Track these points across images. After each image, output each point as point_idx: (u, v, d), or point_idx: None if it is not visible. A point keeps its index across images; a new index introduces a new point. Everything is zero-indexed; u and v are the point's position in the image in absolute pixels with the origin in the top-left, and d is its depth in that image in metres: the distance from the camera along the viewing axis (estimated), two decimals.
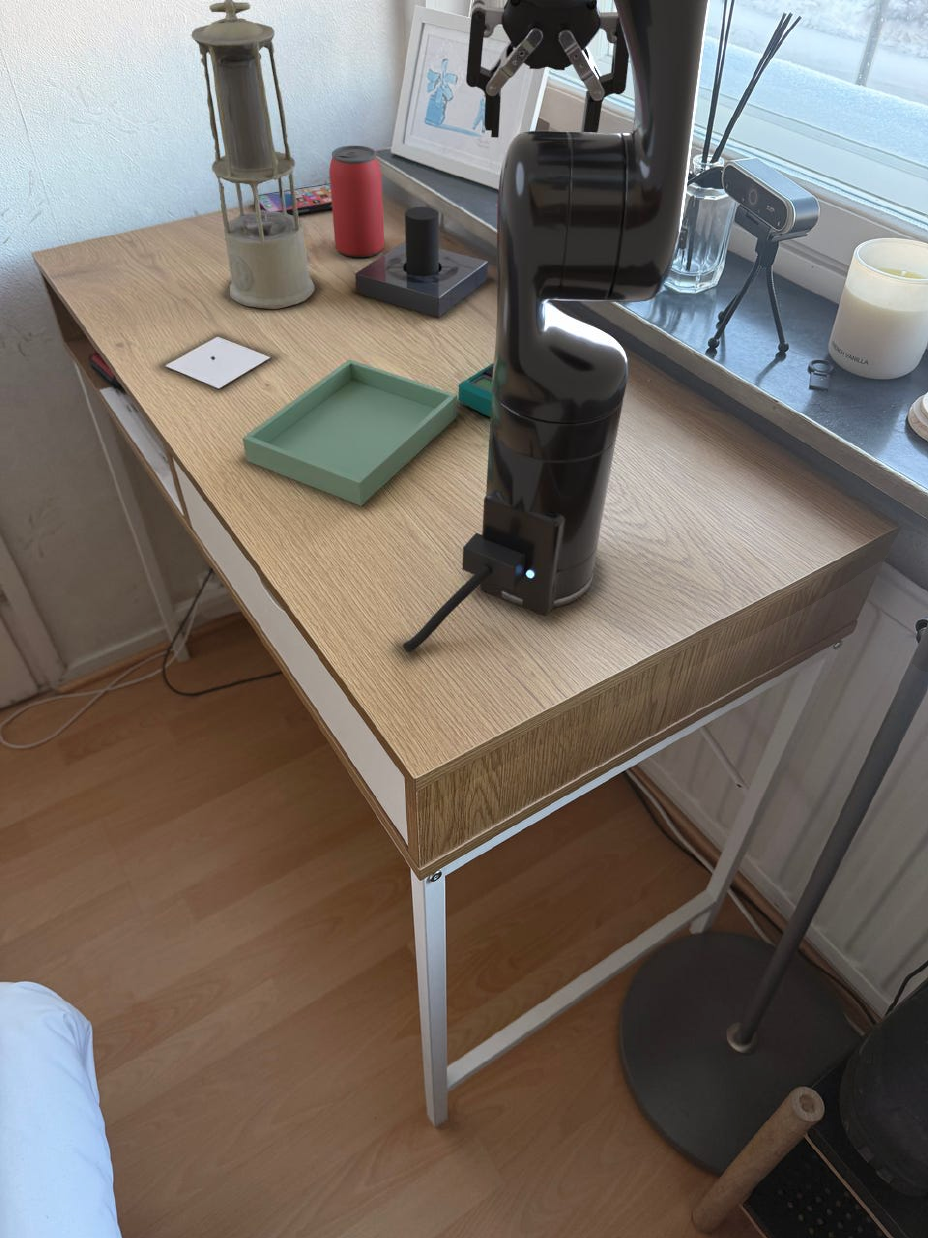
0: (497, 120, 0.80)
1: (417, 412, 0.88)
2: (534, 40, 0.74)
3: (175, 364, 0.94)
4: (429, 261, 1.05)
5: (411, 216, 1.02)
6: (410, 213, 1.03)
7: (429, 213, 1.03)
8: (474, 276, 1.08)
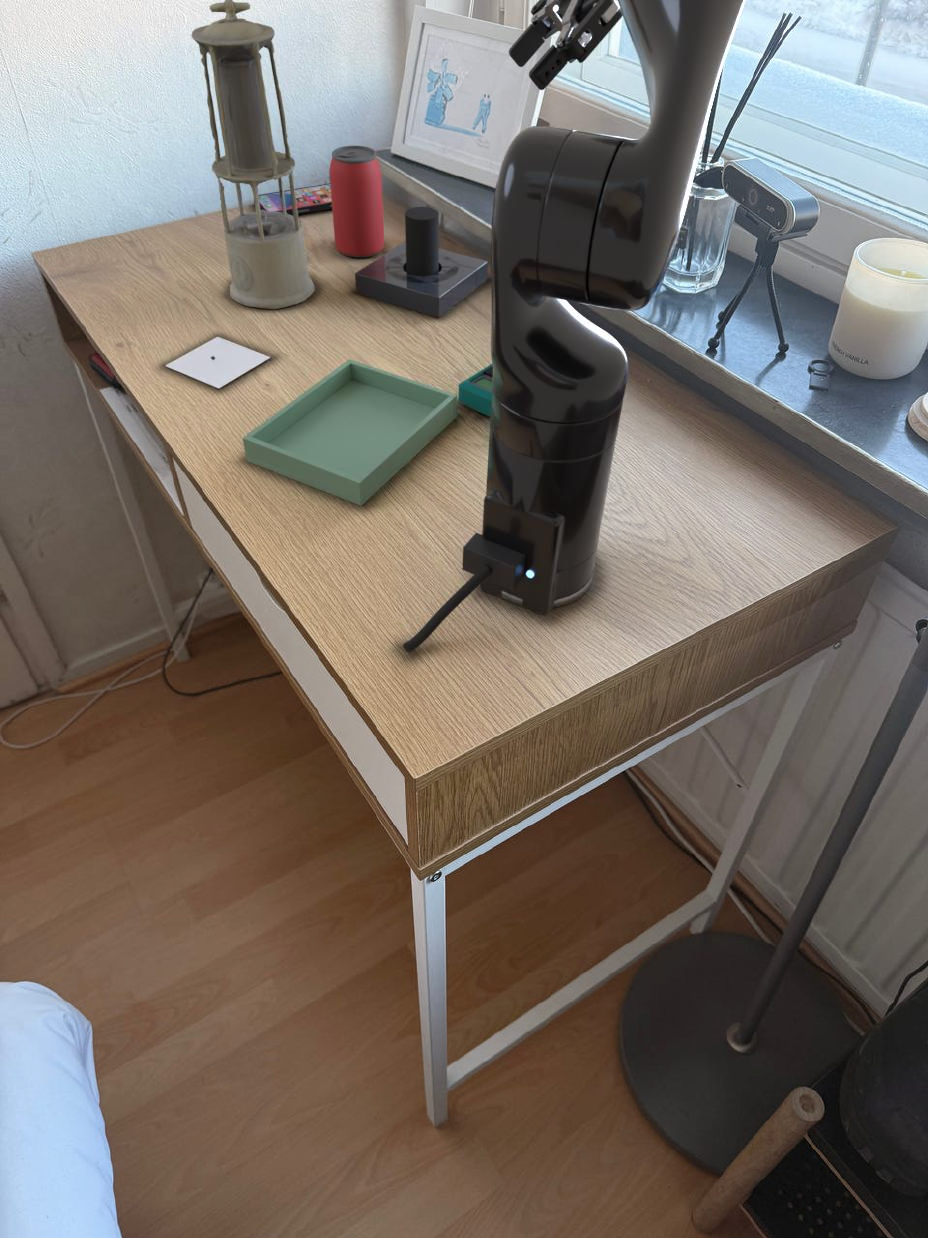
0: (518, 39, 0.96)
1: (417, 412, 0.88)
2: None
3: (175, 364, 0.94)
4: (429, 261, 1.05)
5: (411, 216, 1.02)
6: (410, 213, 1.03)
7: (429, 213, 1.03)
8: (474, 276, 1.08)
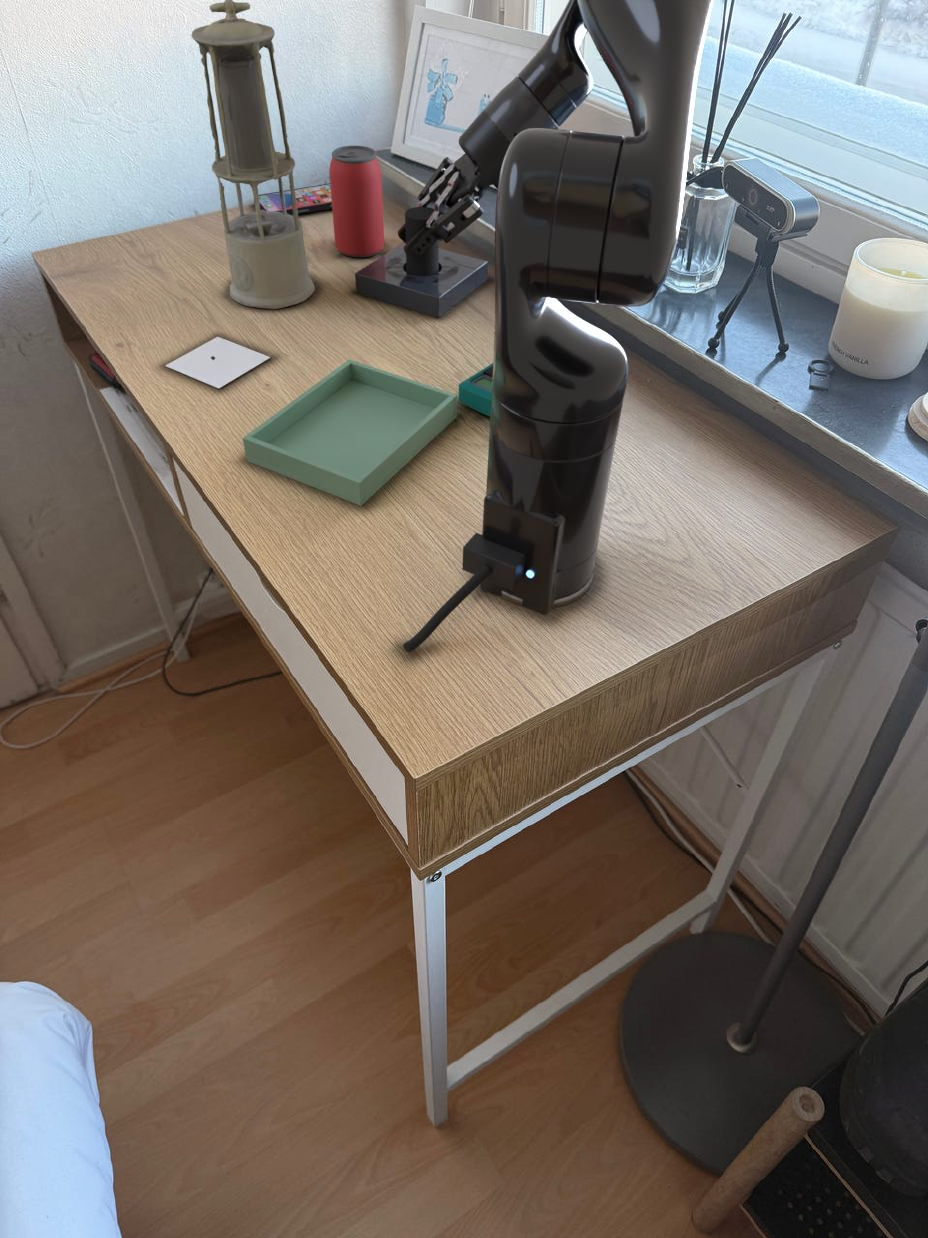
0: None
1: (417, 412, 0.88)
2: (448, 169, 1.01)
3: (175, 364, 0.94)
4: (429, 261, 1.05)
5: (410, 216, 1.02)
6: (410, 213, 1.03)
7: (429, 213, 1.03)
8: (474, 276, 1.08)
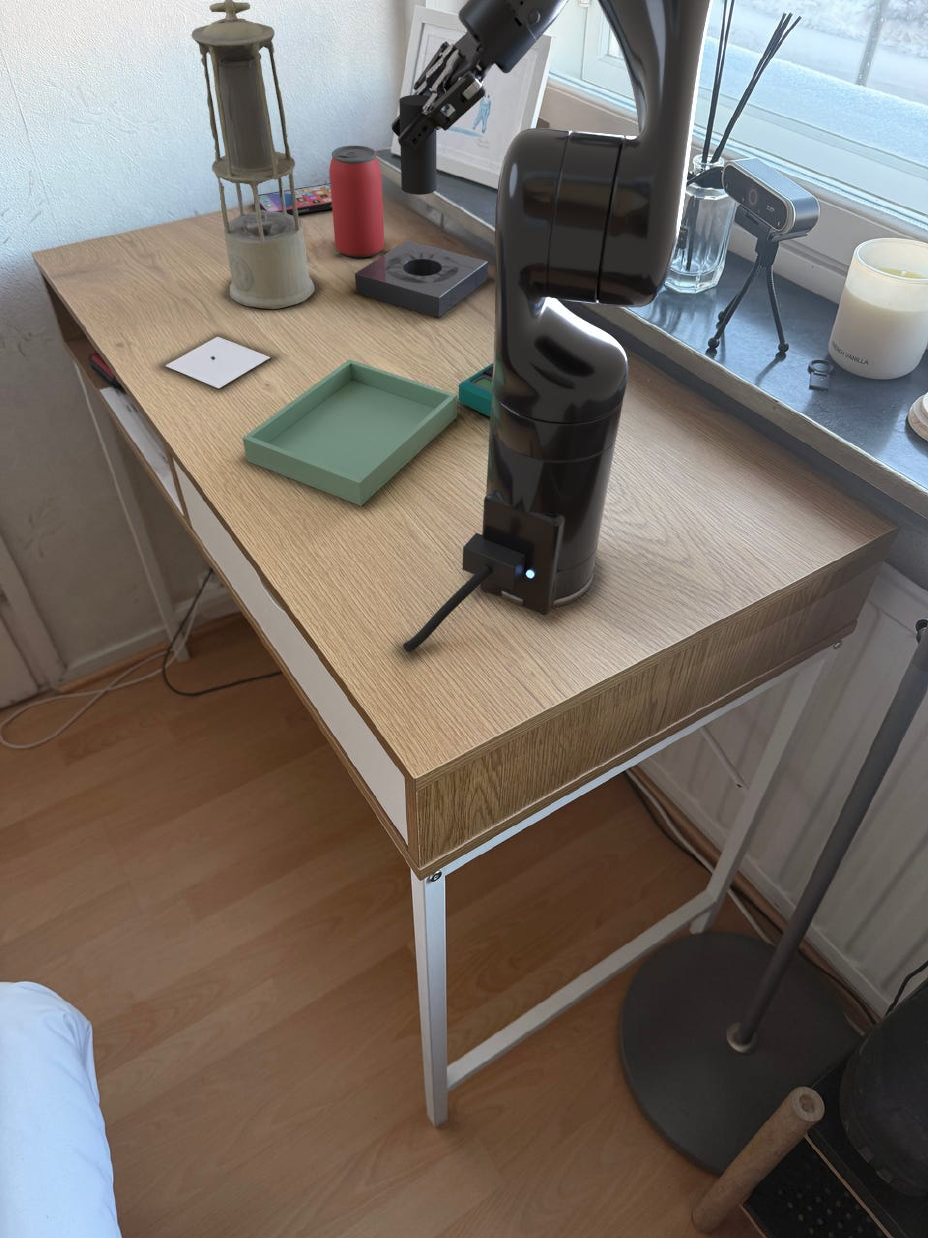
0: None
1: (417, 412, 0.88)
2: (446, 50, 0.91)
3: (175, 364, 0.94)
4: (426, 156, 0.95)
5: (405, 102, 0.92)
6: (405, 100, 0.93)
7: (425, 100, 0.93)
8: (474, 276, 1.08)
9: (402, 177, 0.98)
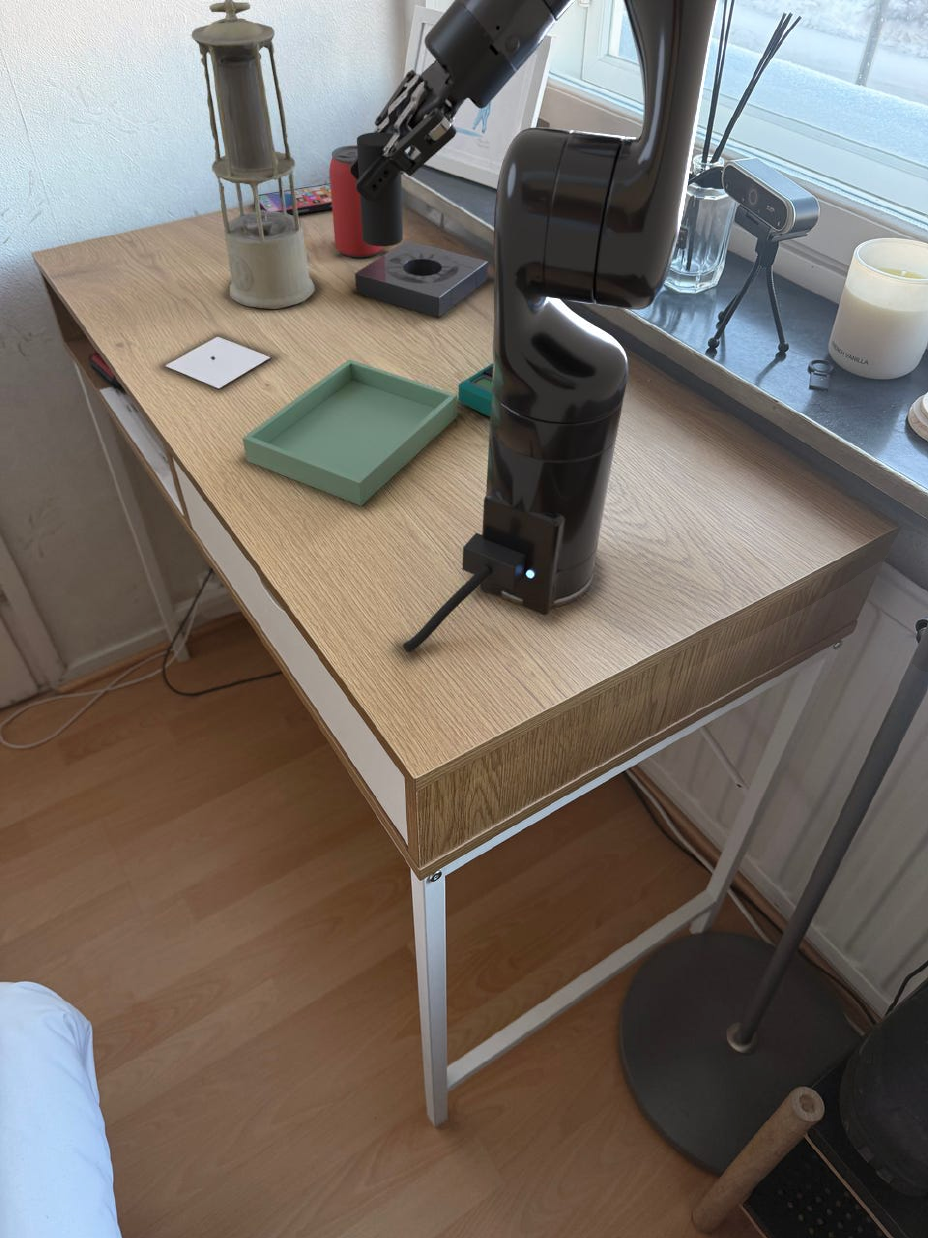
0: None
1: (417, 412, 0.88)
2: (411, 81, 0.78)
3: (175, 364, 0.94)
4: (389, 203, 0.82)
5: (363, 142, 0.79)
6: (364, 139, 0.79)
7: (387, 139, 0.79)
8: (474, 276, 1.08)
9: (362, 226, 0.84)
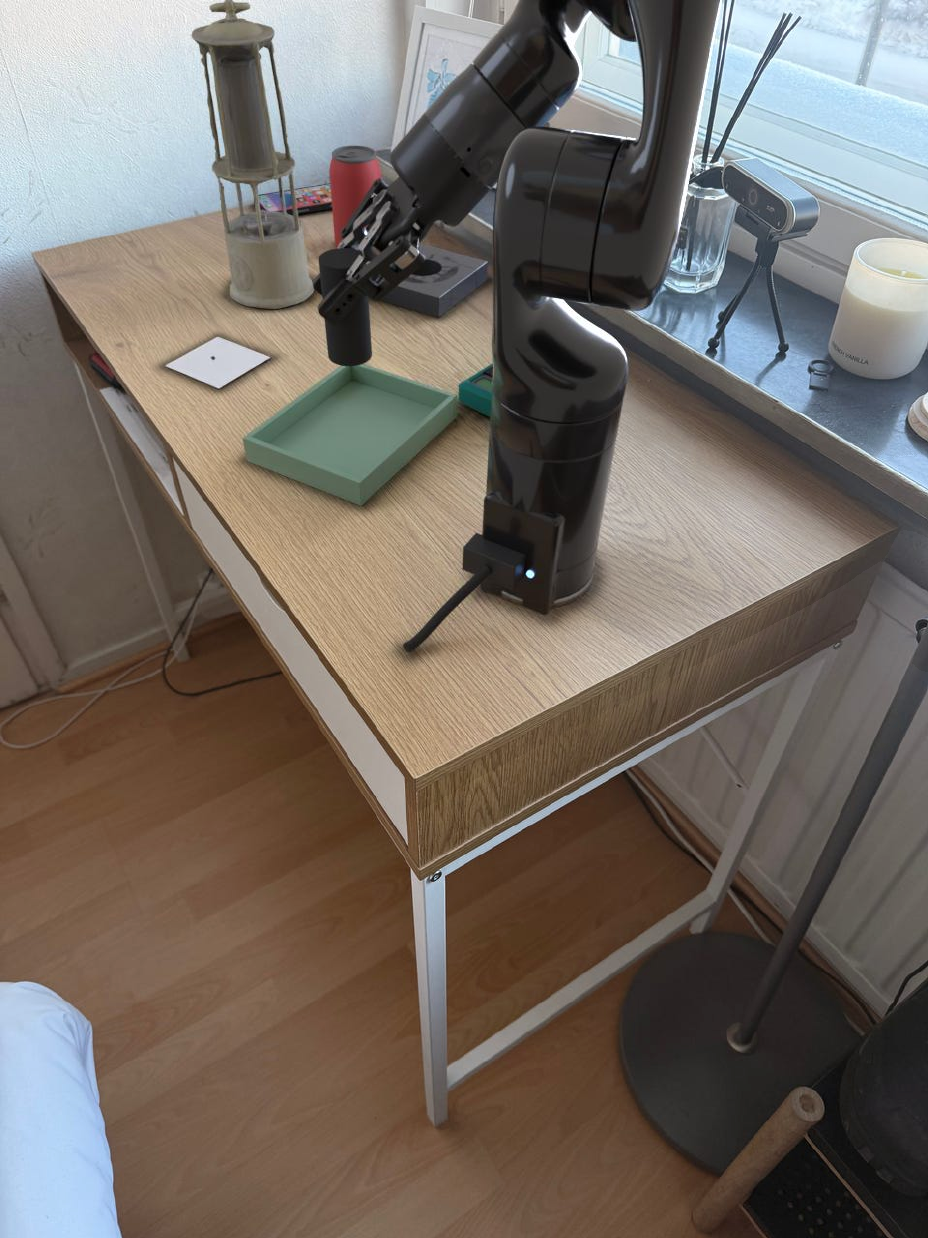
0: None
1: (417, 412, 0.88)
2: (377, 197, 0.71)
3: (175, 364, 0.94)
4: (355, 324, 0.75)
5: (325, 263, 0.72)
6: (326, 258, 0.73)
7: (352, 259, 0.73)
8: (474, 276, 1.08)
9: (327, 345, 0.78)
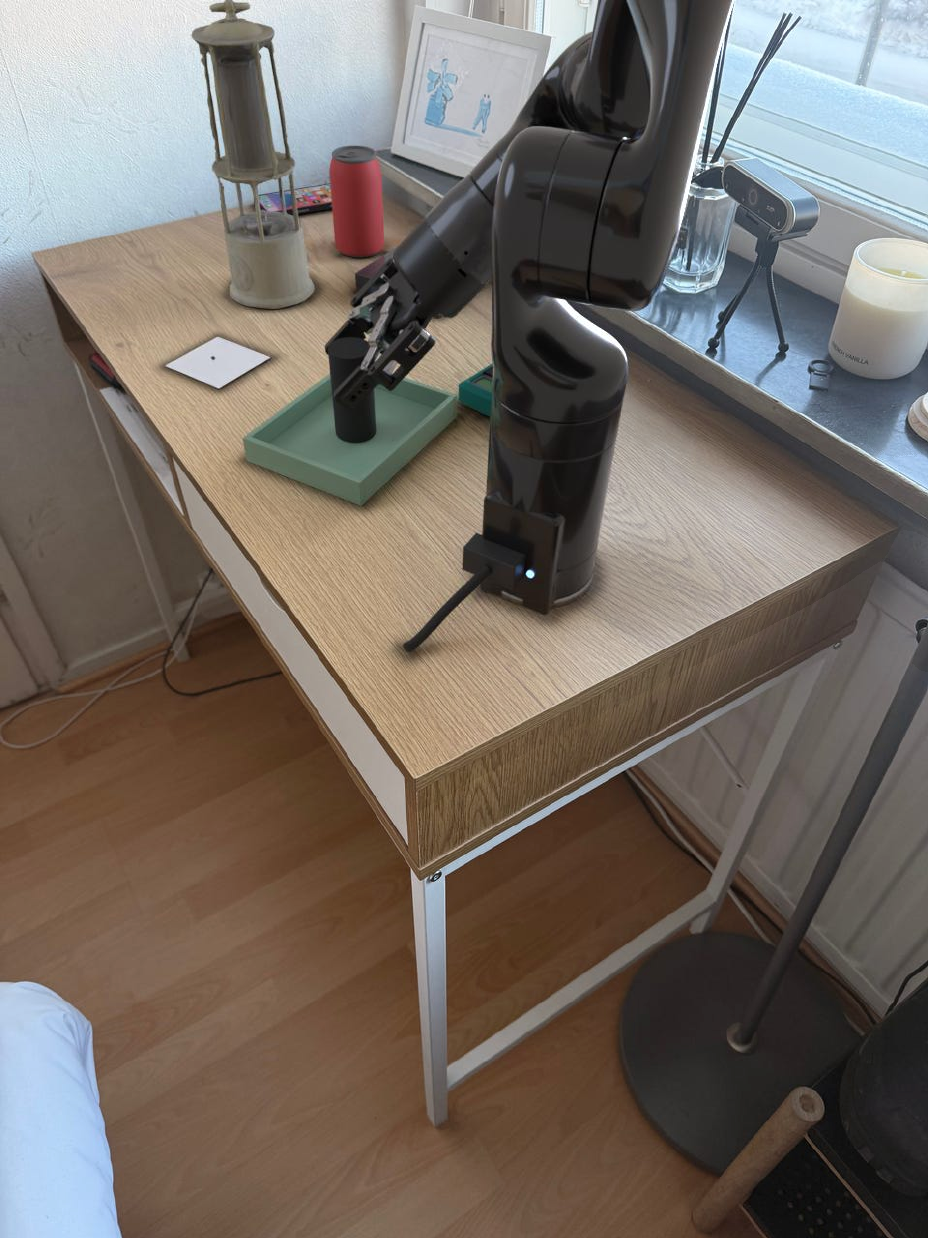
0: (334, 337, 0.82)
1: (417, 412, 0.88)
2: (381, 290, 0.77)
3: (175, 364, 0.94)
4: (361, 407, 0.81)
5: (334, 353, 0.78)
6: (335, 348, 0.79)
7: (359, 349, 0.79)
8: None
9: (335, 423, 0.84)
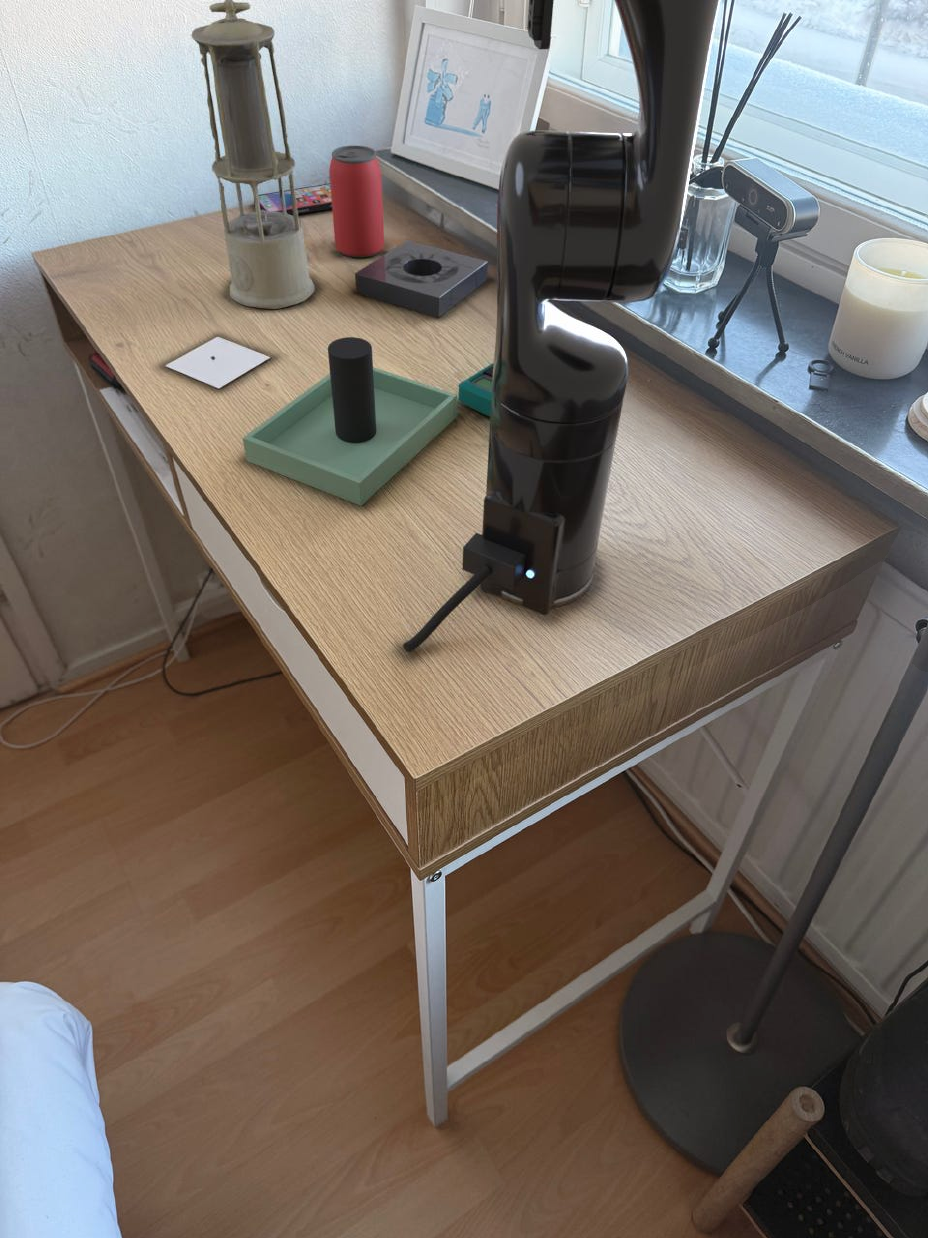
0: (549, 24, 0.65)
1: (417, 412, 0.88)
2: None
3: (175, 364, 0.94)
4: (361, 407, 0.81)
5: (334, 353, 0.78)
6: (335, 348, 0.79)
7: (359, 349, 0.79)
8: (474, 276, 1.08)
9: (335, 423, 0.84)
